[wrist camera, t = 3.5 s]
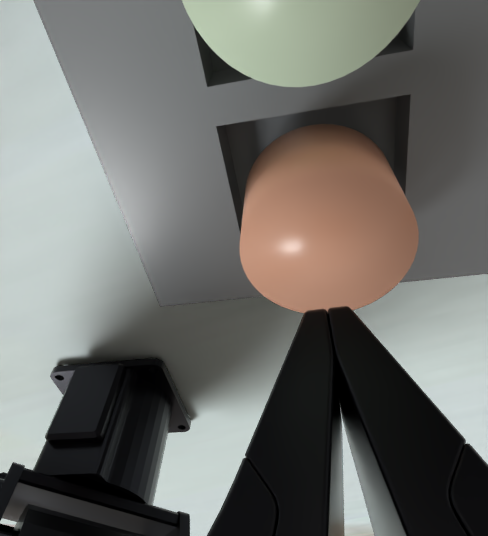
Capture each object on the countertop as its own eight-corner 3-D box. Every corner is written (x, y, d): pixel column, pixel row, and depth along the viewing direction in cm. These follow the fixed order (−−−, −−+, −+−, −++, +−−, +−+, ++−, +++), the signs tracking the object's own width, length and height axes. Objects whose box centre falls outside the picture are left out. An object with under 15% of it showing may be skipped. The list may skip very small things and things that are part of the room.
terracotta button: (390, 245, 15) (413, 306, 12) (257, 261, 15) (254, 321, 13) (395, 111, 12) (425, 156, 9) (232, 137, 12) (222, 185, 10)
